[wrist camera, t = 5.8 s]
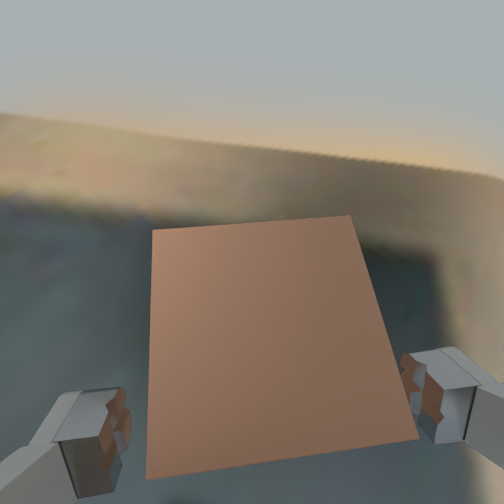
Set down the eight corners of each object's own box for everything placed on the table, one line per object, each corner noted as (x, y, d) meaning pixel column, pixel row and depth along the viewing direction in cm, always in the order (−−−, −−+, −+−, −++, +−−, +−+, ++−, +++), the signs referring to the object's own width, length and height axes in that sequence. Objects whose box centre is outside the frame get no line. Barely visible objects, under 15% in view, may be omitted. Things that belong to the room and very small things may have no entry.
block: (202, 433, 14) (145, 480, 5) (197, 325, 16) (152, 230, 7) (307, 418, 15) (419, 439, 6) (289, 315, 17) (350, 215, 8)
